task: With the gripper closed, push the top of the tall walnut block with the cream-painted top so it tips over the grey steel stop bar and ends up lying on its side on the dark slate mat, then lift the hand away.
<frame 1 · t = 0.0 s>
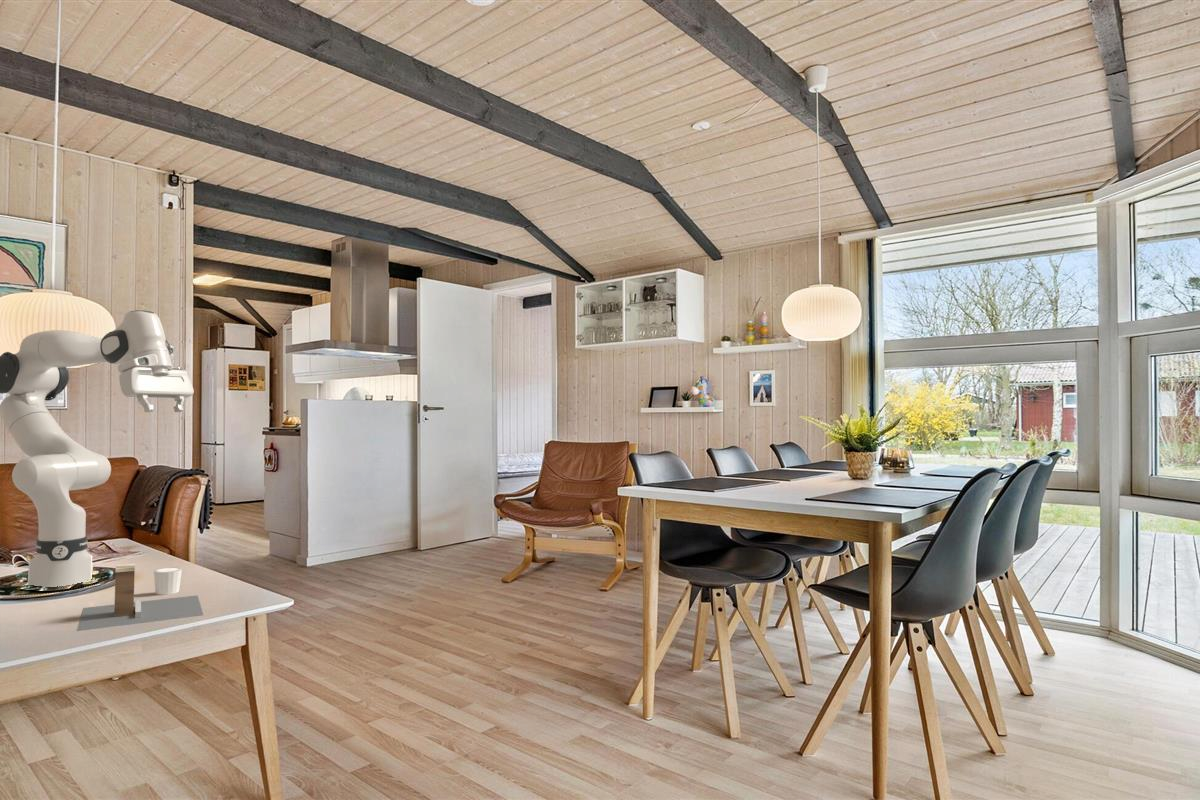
hand: (164, 411, 198), 52 cm above the table, tool tilted 20°, fingers open, 8 cm apart
slate mat: (142, 613, 183), on the table
white cup: (167, 594, 202), on the table
walnut block: (124, 613, 181), point 1 cm above the table, touching slate mat
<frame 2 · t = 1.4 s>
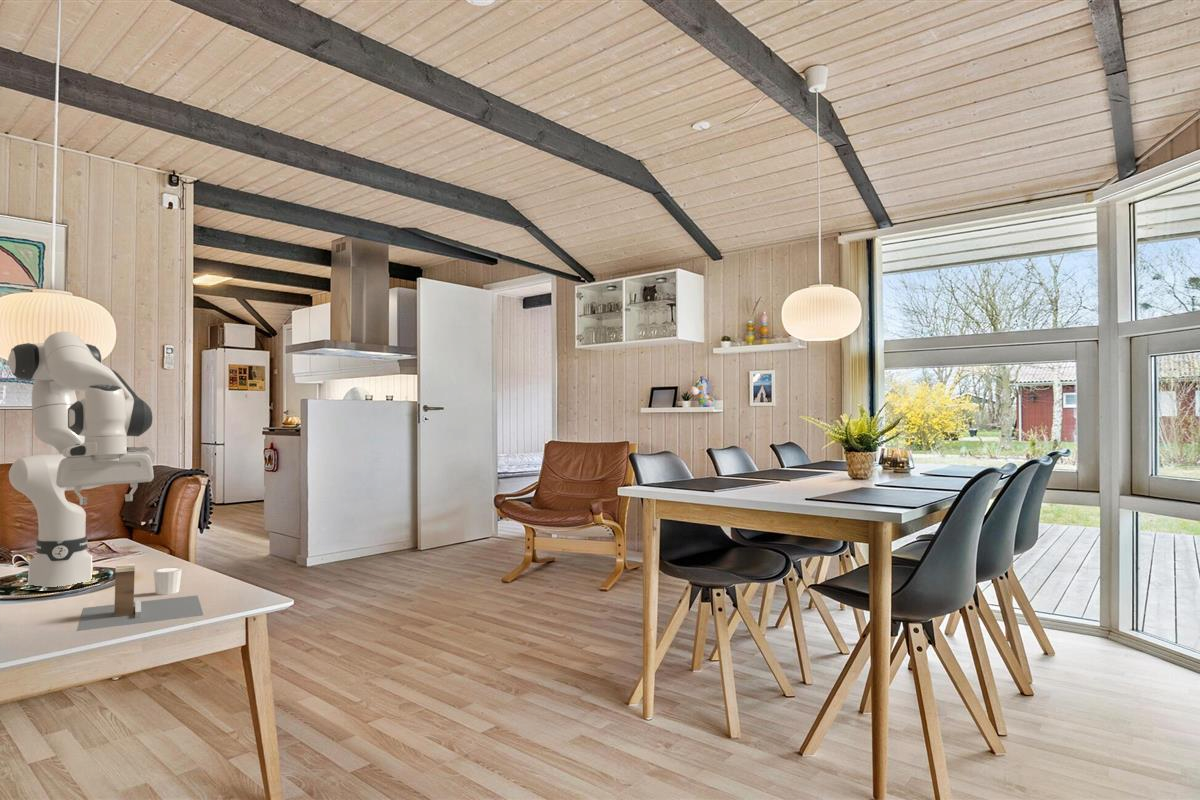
hand: (106, 502, 179), 29 cm above the table, tool pointing down, fingers open, 8 cm apart
nothing on the table moved.
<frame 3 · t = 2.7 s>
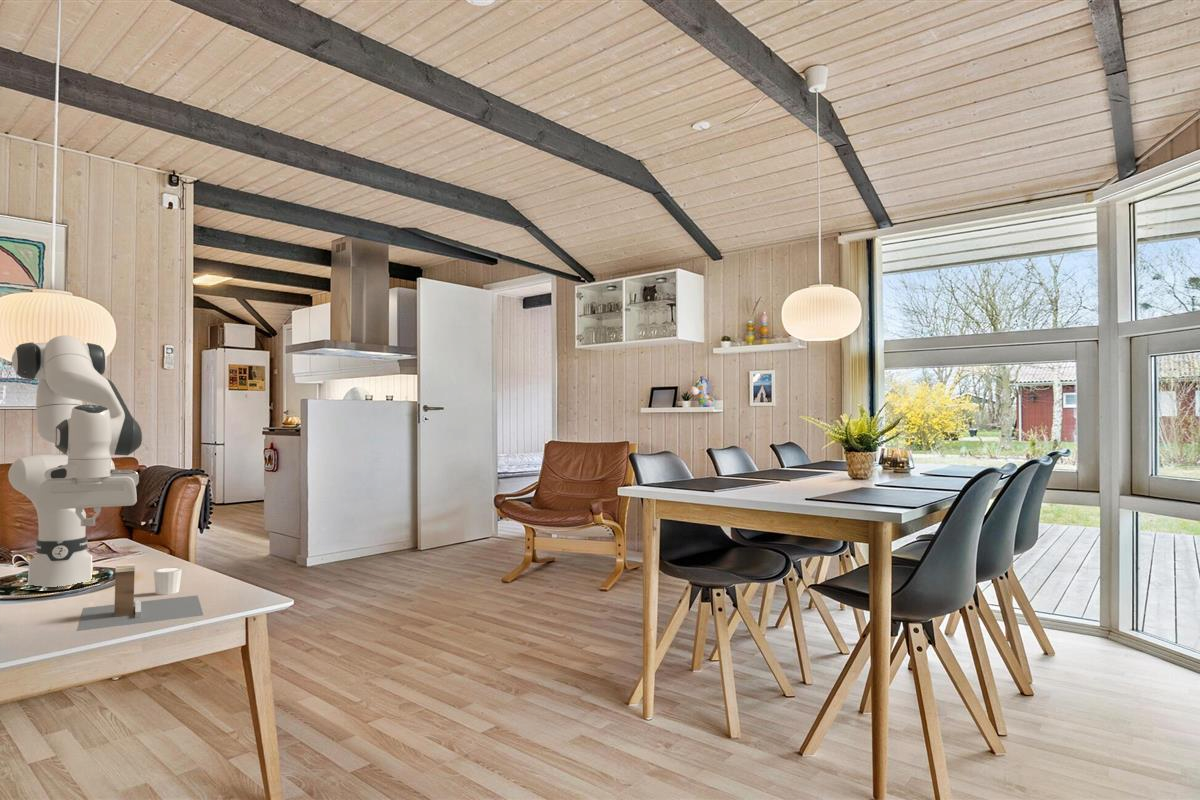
hand: (87, 525, 177), 24 cm above the table, tool pointing down, fingers closed
nothing on the table moved.
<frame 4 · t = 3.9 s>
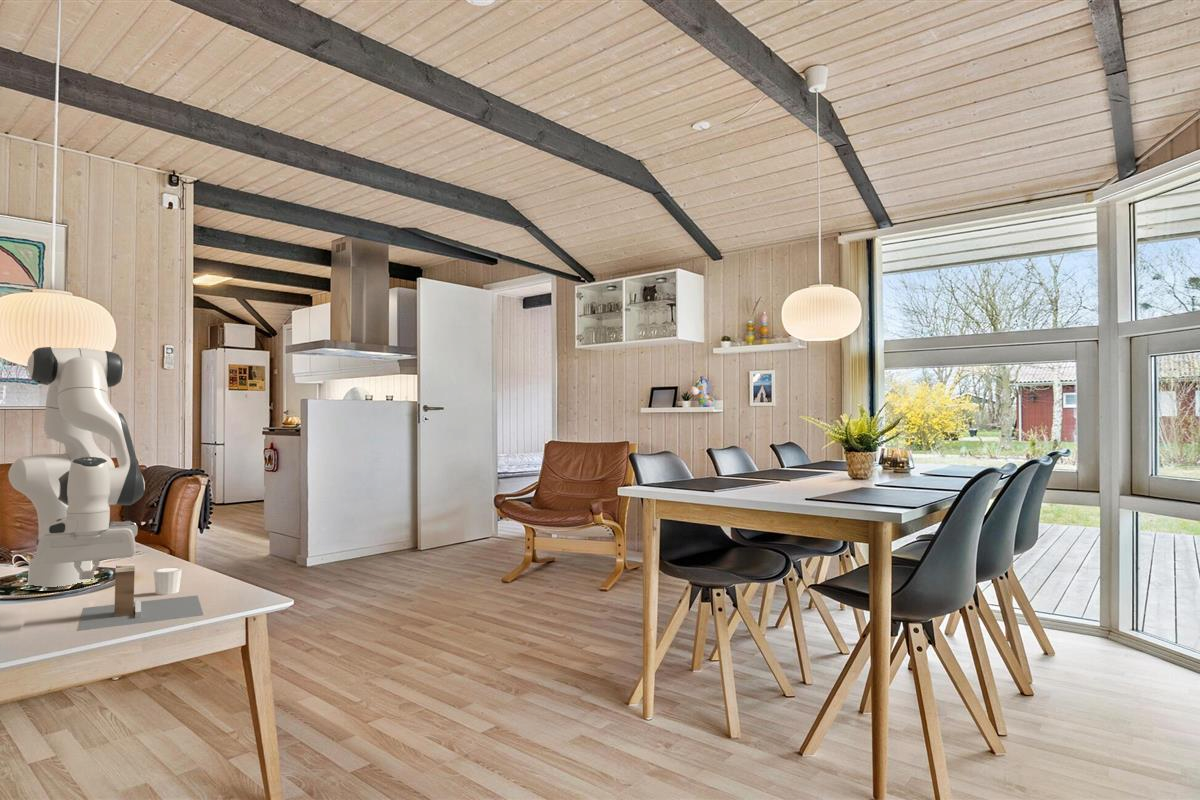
hand: (86, 578, 176), 10 cm above the table, tool pointing down, fingers closed
nothing on the table moved.
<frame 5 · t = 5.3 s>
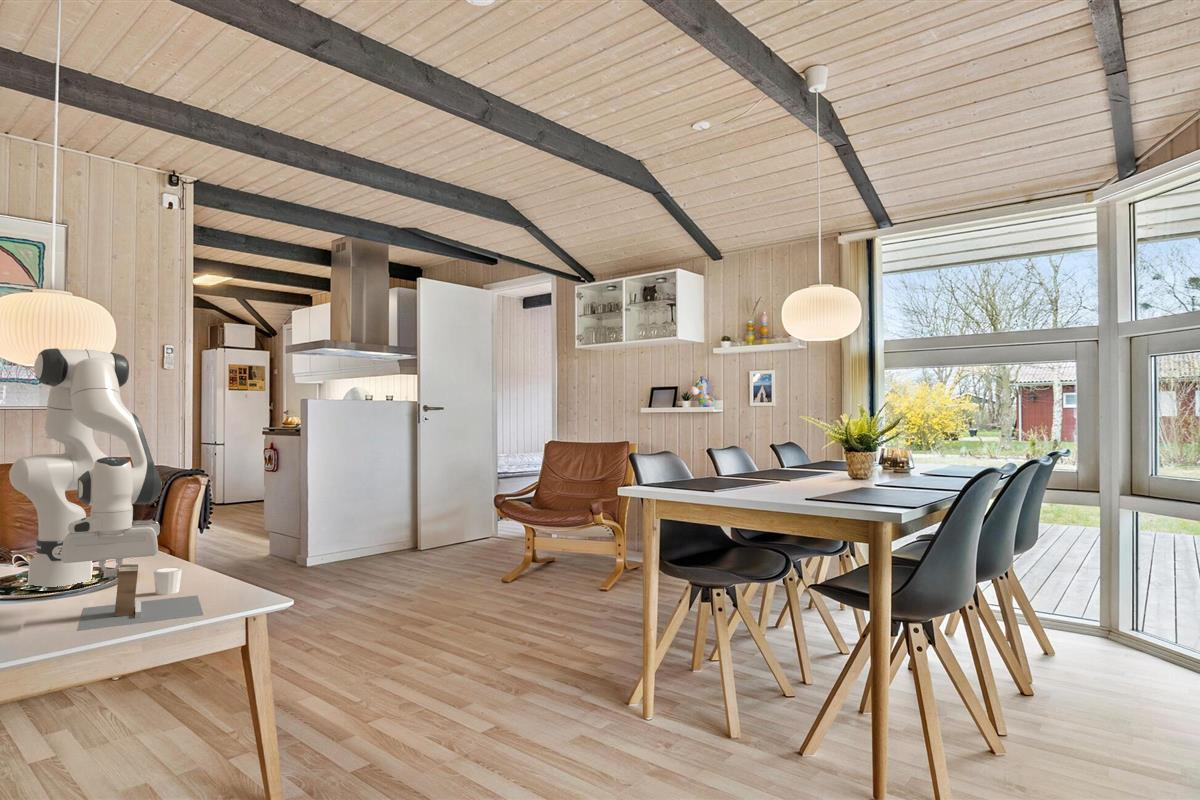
hand: (110, 576, 179), 10 cm above the table, tool pointing down, fingers closed
walnut block: (124, 613, 181), point 1 cm above the table, touching gripper, slate mat
everything else where it was.
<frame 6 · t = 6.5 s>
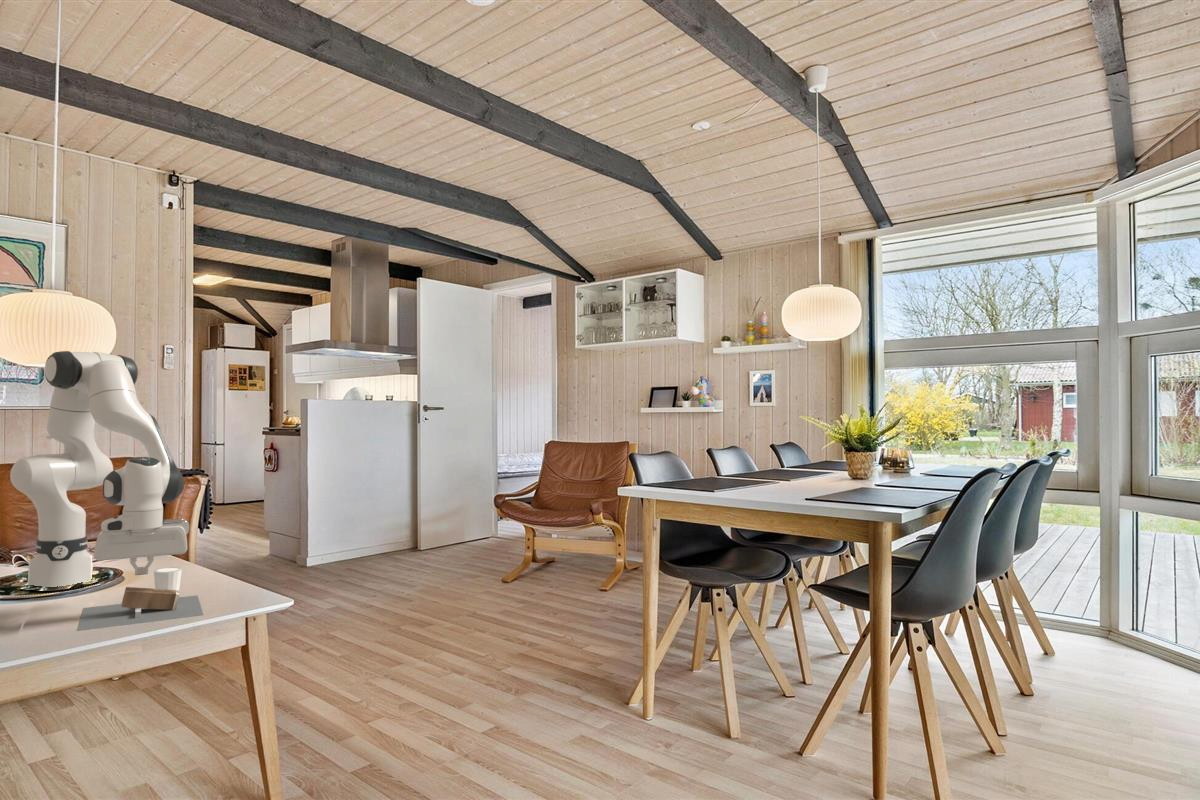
hand: (141, 574, 183), 10 cm above the table, tool pointing down, fingers closed
walnut block: (123, 596, 181), point 5 cm above the table, tilted 101°, touching slate mat
everything else where it was.
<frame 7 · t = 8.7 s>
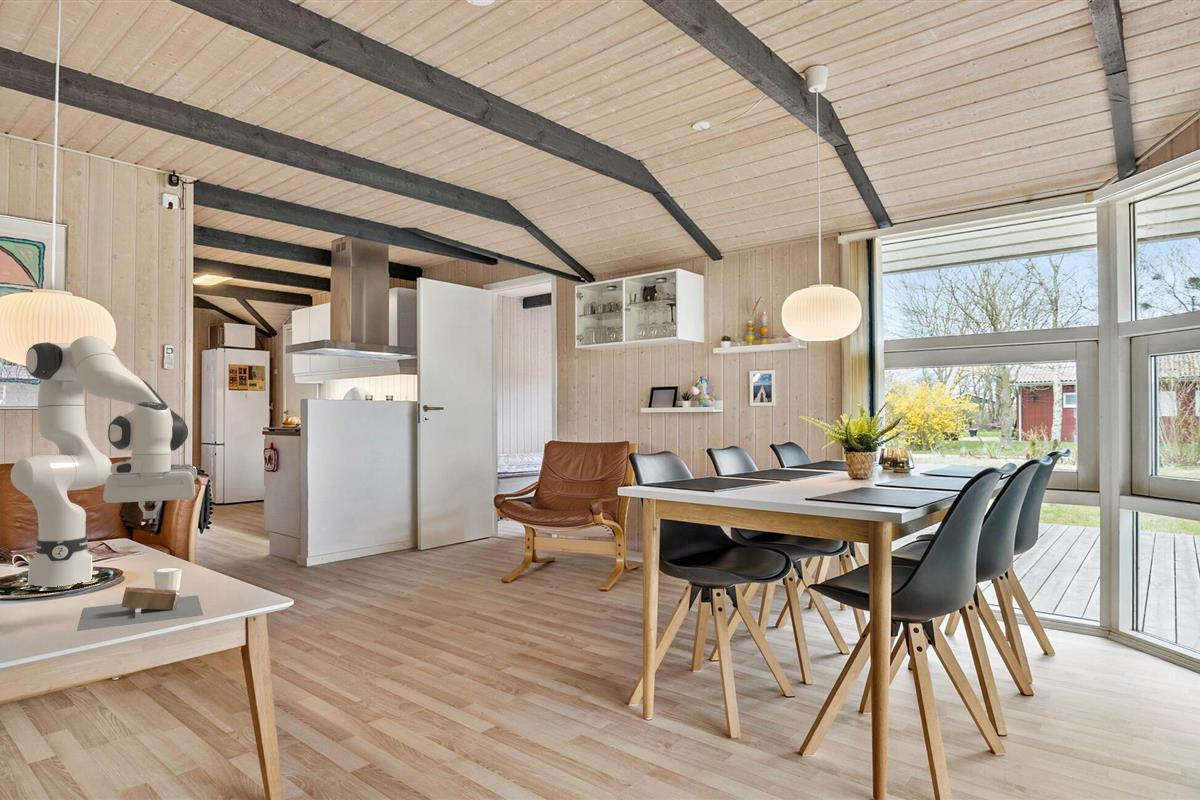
hand: (149, 518, 184), 24 cm above the table, tool pointing down, fingers closed
nothing on the table moved.
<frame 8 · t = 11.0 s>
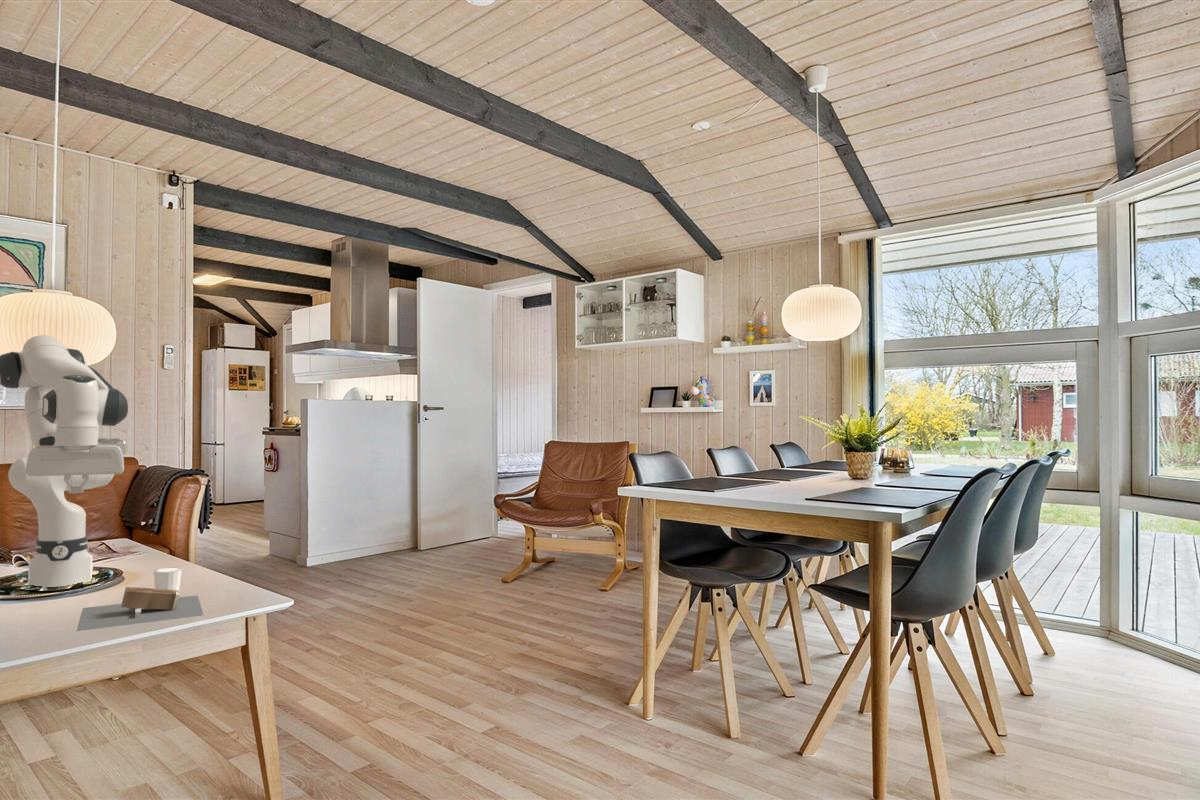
hand: (76, 492, 181), 31 cm above the table, tool pointing down, fingers closed
nothing on the table moved.
at the end: walnut block tilted 101°; walnut block inside the target area (3.6 cm from its centre), point 4.9 cm above the table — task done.
